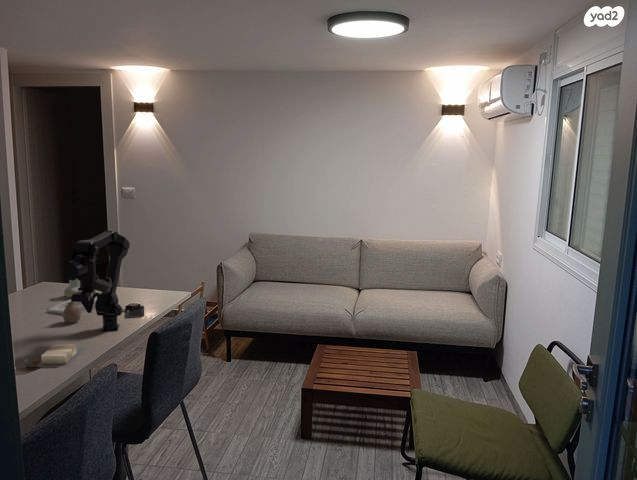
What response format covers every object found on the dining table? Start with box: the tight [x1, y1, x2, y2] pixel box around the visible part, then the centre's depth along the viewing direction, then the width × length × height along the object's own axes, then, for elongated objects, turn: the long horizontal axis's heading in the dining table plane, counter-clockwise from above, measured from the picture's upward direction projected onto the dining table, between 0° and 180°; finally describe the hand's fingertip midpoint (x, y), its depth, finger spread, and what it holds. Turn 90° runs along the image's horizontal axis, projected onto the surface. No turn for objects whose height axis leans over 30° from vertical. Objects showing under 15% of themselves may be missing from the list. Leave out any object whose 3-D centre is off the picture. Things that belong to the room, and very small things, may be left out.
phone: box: [125, 305, 145, 319], centre depth 230 cm, size 8×1×15 cm
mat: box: [35, 347, 87, 368], centre depth 180 cm, size 16×11×1 cm
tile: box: [41, 343, 78, 364], centre depth 178 cm, size 3×8×10 cm
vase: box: [62, 302, 82, 325], centre depth 215 cm, size 7×7×9 cm
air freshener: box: [63, 279, 82, 299], centre depth 250 cm, size 11×8×10 cm
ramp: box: [47, 297, 97, 316], centre depth 234 cm, size 28×16×5 cm, turn 122°
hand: (89, 312), depth 193 cm, fingers closed
